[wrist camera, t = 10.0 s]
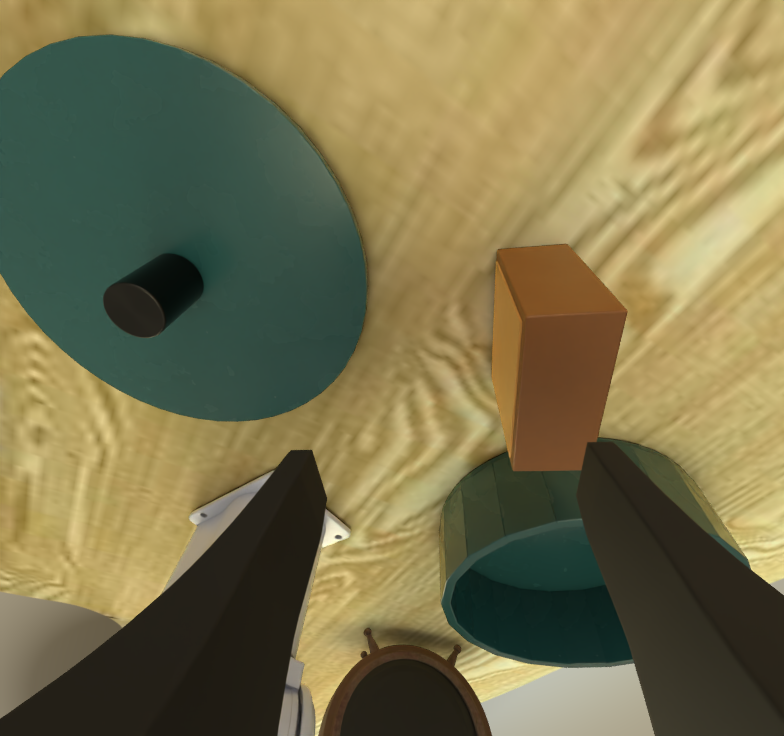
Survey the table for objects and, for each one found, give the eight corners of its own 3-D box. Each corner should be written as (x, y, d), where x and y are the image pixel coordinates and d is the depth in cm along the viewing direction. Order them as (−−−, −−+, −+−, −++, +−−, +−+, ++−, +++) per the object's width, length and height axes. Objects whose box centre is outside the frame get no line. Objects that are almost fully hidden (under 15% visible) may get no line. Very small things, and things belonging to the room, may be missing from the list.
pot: (544, 611, 35) (561, 687, 30) (392, 525, 30) (385, 602, 25) (749, 526, 27) (813, 612, 22) (590, 389, 22) (631, 466, 17)
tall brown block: (490, 378, 22) (510, 472, 16) (494, 249, 18) (523, 316, 13) (551, 375, 21) (592, 470, 16) (569, 243, 18) (631, 310, 12)
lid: (261, 452, 26) (234, 512, 23) (-33, 287, 21) (-132, 329, 17) (448, 249, 18) (453, 290, 14) (41, -107, 13) (-117, -188, 9)
